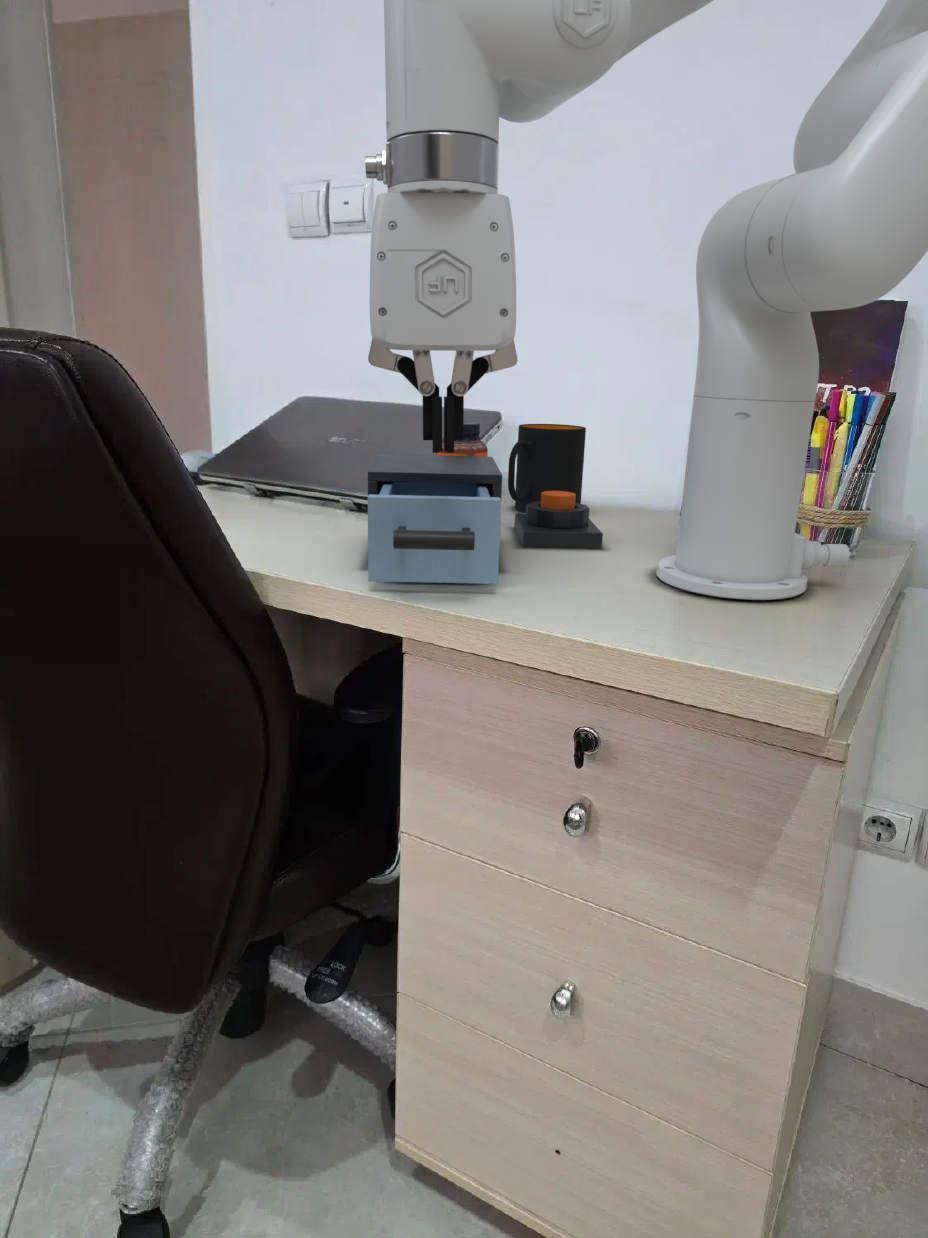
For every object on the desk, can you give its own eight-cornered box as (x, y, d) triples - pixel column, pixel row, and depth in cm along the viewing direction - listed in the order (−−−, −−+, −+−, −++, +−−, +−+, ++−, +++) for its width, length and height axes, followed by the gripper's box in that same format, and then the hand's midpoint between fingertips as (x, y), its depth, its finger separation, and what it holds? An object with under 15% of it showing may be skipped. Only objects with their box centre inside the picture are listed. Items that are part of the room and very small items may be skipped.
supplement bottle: (487, 518, 98) (491, 420, 95) (484, 528, 93) (487, 424, 89) (437, 516, 99) (439, 418, 95) (431, 525, 93) (432, 422, 90)
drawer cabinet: (498, 571, 74) (502, 474, 71) (368, 568, 74) (367, 471, 71) (489, 539, 87) (492, 456, 84) (378, 537, 87) (378, 453, 84)
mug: (481, 512, 102) (484, 426, 99) (541, 502, 110) (546, 422, 107) (534, 522, 97) (539, 431, 94) (593, 510, 105) (599, 427, 102)
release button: (571, 507, 89) (572, 491, 89) (577, 513, 86) (578, 496, 85) (538, 506, 89) (539, 490, 89) (542, 512, 86) (543, 495, 85)
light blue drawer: (502, 599, 62) (505, 509, 60) (363, 596, 62) (362, 506, 60) (488, 549, 78) (491, 477, 76) (378, 547, 78) (378, 474, 76)
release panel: (584, 529, 93) (587, 499, 92) (601, 549, 84) (604, 515, 83) (514, 528, 93) (515, 497, 92) (523, 547, 83) (524, 513, 82)
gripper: (325, 162, 52) (337, 456, 58) (560, 166, 53) (549, 457, 58) (338, 185, 59) (347, 445, 65) (545, 188, 60) (536, 445, 66)
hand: (443, 450), depth 62 cm, fingers closed
